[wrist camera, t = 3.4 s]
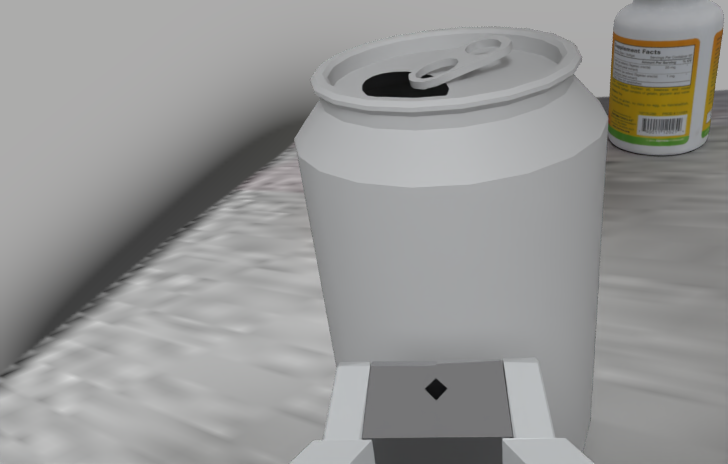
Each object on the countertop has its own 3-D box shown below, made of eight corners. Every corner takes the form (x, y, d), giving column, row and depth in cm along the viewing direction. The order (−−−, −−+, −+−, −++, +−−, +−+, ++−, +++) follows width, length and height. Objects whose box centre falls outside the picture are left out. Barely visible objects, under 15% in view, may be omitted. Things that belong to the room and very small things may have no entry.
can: (321, 389, 23) (253, 51, 18) (509, 327, 25) (503, 0, 19) (401, 570, 17) (335, 135, 11) (644, 470, 19) (694, 48, 13)
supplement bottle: (657, 116, 42) (673, -50, 37) (730, 141, 37) (758, -44, 32) (587, 137, 40) (594, -33, 35) (654, 166, 36) (673, -25, 31)
